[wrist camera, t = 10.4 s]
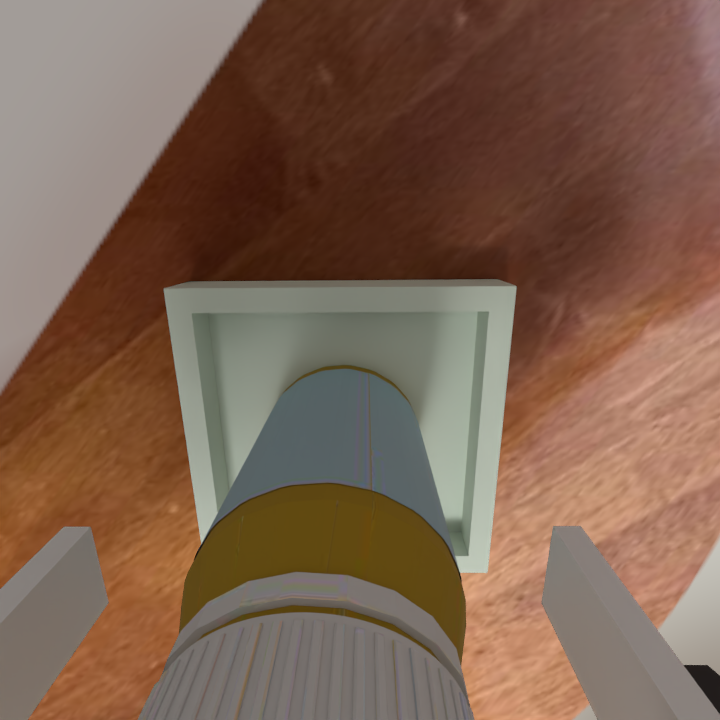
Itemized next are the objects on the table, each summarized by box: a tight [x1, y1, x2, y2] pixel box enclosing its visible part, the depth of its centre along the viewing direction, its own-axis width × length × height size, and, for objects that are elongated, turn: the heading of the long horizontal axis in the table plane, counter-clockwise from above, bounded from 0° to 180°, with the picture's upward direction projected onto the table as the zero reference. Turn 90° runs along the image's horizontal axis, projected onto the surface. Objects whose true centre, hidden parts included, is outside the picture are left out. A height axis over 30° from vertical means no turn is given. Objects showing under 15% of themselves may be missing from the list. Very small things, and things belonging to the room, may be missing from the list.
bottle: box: [138, 365, 474, 720], centre depth 13 cm, size 7×7×15 cm
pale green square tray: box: [164, 279, 517, 573], centre depth 20 cm, size 14×14×2 cm
